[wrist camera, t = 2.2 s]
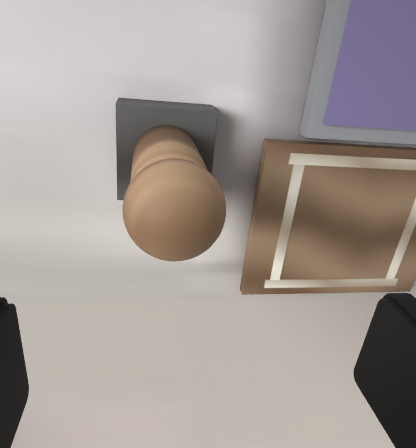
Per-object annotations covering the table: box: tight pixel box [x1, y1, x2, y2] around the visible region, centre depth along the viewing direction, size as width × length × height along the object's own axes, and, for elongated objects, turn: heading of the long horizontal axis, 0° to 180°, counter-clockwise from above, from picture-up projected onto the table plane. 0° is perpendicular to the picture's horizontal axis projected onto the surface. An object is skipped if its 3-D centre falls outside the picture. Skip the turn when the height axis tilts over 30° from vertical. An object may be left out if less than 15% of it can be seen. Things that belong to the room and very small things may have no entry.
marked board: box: [240, 139, 416, 295], centre depth 29 cm, size 13×16×1 cm
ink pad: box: [299, 0, 416, 145], centre depth 24 cm, size 11×11×2 cm
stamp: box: [116, 98, 226, 261], centre depth 19 cm, size 6×6×13 cm
